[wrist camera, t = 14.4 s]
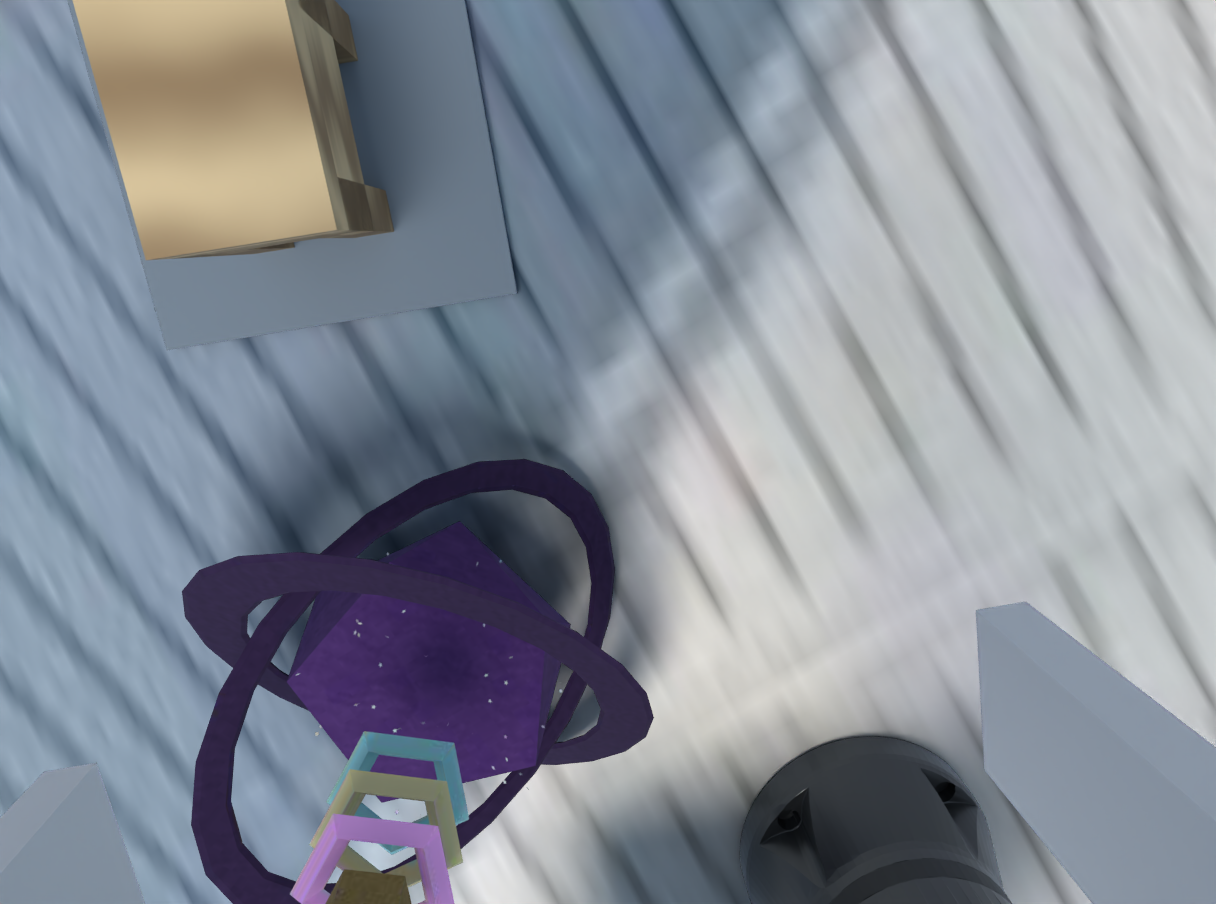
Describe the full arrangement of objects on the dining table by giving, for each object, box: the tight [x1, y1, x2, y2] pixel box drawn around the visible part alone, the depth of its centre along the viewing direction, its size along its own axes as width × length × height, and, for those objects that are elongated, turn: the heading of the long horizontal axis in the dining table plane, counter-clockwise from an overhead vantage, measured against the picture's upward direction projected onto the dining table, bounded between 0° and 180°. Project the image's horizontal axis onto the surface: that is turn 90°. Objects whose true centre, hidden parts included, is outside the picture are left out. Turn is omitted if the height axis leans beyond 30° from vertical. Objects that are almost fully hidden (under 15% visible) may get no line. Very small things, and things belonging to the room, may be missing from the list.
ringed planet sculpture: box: [182, 459, 654, 904], centre depth 37 cm, size 22×21×25 cm
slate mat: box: [67, 0, 518, 350], centre depth 42 cm, size 18×18×1 cm
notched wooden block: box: [72, 0, 394, 260], centre depth 36 cm, size 10×7×12 cm
